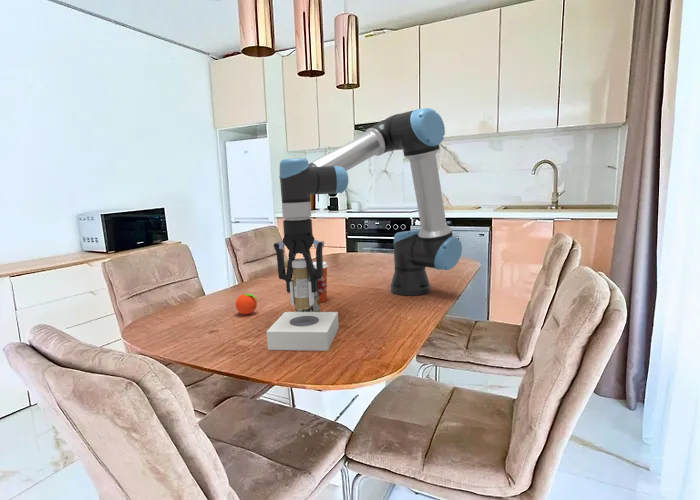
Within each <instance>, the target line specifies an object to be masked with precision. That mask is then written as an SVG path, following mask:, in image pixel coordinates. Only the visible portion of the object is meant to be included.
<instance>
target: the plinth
mask: <svg viewBox="0 0 700 500" xmlns="http://www.w3.org/2000/svg"><path fill="white" fill-rule="evenodd" d="M339 328H340V327H339V311H320V312H296V311H285V312H283V313H282V314H281V315H280V316H279V317H278V319H277V320H275V322H274V323H273V324H272V325H270V327H269V328H268V329H267V330H266V341H267V344H266V345H267V350H268V351H310V352H311V351H315V352H316V351H318V352H319V351H321V352H322V351H323V352H326V351H329V350H330V348H331V345H332V343H333V341H334V339H335V337H336V335H337V333H338V331H339Z"/></svg>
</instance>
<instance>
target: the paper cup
mask: <svg viewBox="0 0 700 500" xmlns="http://www.w3.org/2000/svg"><path fill="white" fill-rule="evenodd" d="M312 262H313V265H314V267H315V268H316V261H312ZM328 267H329V266H328V264H327V262H326V261H323V276H322V277H321V279H318V285H319V301H320V304H321V303H325V302H327V301H328V299H327V297H328ZM316 269H317V268H316Z"/></svg>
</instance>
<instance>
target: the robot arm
mask: <svg viewBox="0 0 700 500" xmlns="http://www.w3.org/2000/svg"><path fill="white" fill-rule="evenodd" d="M445 129H446V128H445V123H444V121H443V118H442V116H441V115H440V114H439V113H438V112H437V111H436V110H434V109H432V108H427V107H425V108H417V109H414V110H409V111H406V112H402V113H401V112H400V113H396V114H393V115H390V116H389V117H387V118H385V119H383V120H381V121H379V122H378V123H376V124H374V125H373V126H371V127H369V128H368V129H366V130H365V131H364V134H362V135H360V136H359V137H357V138H355V139H353V140H352V141H349V142H347V143H345V144H344V145H342V146H340V147H338V148H336V149H334V150H332V151H330V152H328V153H327V154H324V155H322V156H320V157H318V158H317V159H315V160H313V161H311V162H310V163H309V160H308V158H285V159H282V160H280V162H279V176H278V177H279V182H280V194H281V195H280V196H281V210H282V218H283V222H282V226H283V238H282V240H281V241H277V242H276V243H274V244H273V249H274V250H275V252H276V263H277V271H278V274H277V275H278V279H279V280H283V281H285V283H286V286H285V287H286V292H287V294H290V295H289V296H290V305H291V306H295V297H294V285H293V269H292V261H293V260H294V259H296V255H297V254H302V256H303V258H304V259H305V261H306V266H307V269H308V273H309V276H310V280H309V281H308V292H309V305H313V304H314V293H315V292H316V291H317V280H318V279H321V277H322V276H323V262H324V261H323V248H324V246H325V241H324V240H321V241H320V240H317V239H315V237H314V234H313V223H312V222H313V221H312V219H311V218H310V217H311V216H312V205H311V203H312V202H311V196H313V195H331V194H334V195H336V194H342V193H344V192H345V191H346V190H347V189H348V186H349V174H348V171H349V170H351V169H352V168H354V167H356V166H358V165H360V164H362V163H363V162H364V161H366V160H368V159H370V158H372V157H374V156H376V157H379V156H382V155H383V154H385V153H388V152H393V151H398V150H399V151H401V150H402V152H403V156H404V158H405V159H407V160H408V161H409V164H410V169H411V176H412V182H413V188H414V194H415V198H416V199H415V200H416V204H417V211H418V216H419V222H420V228H421V229H415V230H414V229H413V230H406V231H399V232H396V233H395V234H394V236H393V243H392V244H393V261H394V263H393V264H394V272H393V274H392V275H393V276H392V279H391V282H390V292H391V293H393V294H395V295H399V296H420V295H425V294H429V293H430V292H431V283H430V280H429V276H428V274H427V271H426V268H430V269H433V270H434V269H435V270H438V271H440V270H441V271H450V270H451V269H453V268H454V267H456V266H457V265H458V263H459V260H460V259H461V257H462V253H463V252H462V251H463V245H462V241H461V240H460V239H459V238H458V237H456V236H454V235H453V229H452V227H451V226H449V225H448V224H447V219H446V213H445V206H444V199H443V194H442V187H441V182H440V179H441V178H440V173H439V167H438V162H437V161H438V160H437V155H438V153H439V151H440V150H441V149H440V144H441V143H442V142H443V140H444V138H445V137H444V136H445V135H446V130H445ZM313 245H314V249H316V250H315V262H316V268H317V274H316V272H315V269H314V265H313V262H314V261H313V259H312V255H311V250H310V249H311V247H312V246H313ZM285 248H286V249H287V250H288V260H287V266H286V265H285V253H284V249H285ZM286 267H287V268H286Z"/></svg>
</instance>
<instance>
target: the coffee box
mask: <svg viewBox="0 0 700 500" xmlns="http://www.w3.org/2000/svg"><path fill="white" fill-rule="evenodd" d="M314 269H315V272H316V274H317V269H316V268H315V267H314ZM309 280H310V276H309ZM320 306H321V303H320V301H319V285H318V280H317V291H316V292H315V293H314V304H313V305H311V307H310V308H308V309H303V310H298V309H296V308H295V312H321V307H320Z"/></svg>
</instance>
